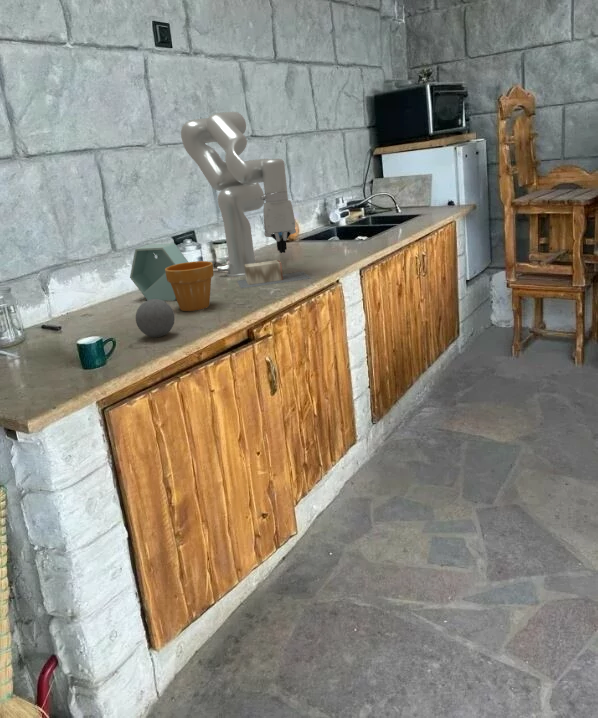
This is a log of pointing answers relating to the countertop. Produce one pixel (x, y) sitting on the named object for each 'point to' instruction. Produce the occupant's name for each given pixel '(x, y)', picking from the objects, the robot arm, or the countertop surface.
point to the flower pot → (191, 284)
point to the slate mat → (286, 278)
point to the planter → (155, 270)
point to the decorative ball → (155, 318)
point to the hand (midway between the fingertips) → (282, 252)
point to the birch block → (263, 272)
